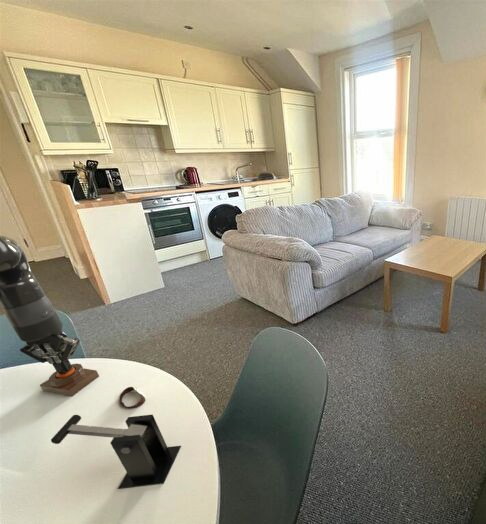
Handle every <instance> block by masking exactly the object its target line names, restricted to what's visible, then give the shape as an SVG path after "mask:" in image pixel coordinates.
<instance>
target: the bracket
mask: <svg viewBox="0 0 486 524" xmlns="http://www.w3.org/2000/svg"><path fill="white" fill-rule="evenodd" d="M131 424H136V425H147V436H146V437H145V439H144V441H143V440H142V438H141V436H140V435H132V436H123V437H114V438H112V439H111V441H110V445H111V447H112V449H113V450H114V452H115V454H116V456H117V458H118V460H119V461H120V463H121V464H122V466H123V469H124V470H125V472H126V474H125V475H124V477H123V479H122V480H121V482H120V484H119V485H118V487H117V489H118V490H122V489H131V488H140V487H148V486H155V485H157V486H158V485H164V484H165V482H166V480H167V478H168V476H169V474H170V471H171V469H172V467H173V465H174V463H175V461H176V458H177V457H178V454H179V453H180V450H181V448H182V445H174V446H168V445H167V443H166V441H165V439H164V437H163V434H162V432H161V429H160V428H159V425H158V423H157V421H156V418H155V417H154V414H144V415H136V416H135V415H134V416H128V417H127V418H126V420H125V425H126V426H127V429H128V428H129V426H130V425H131Z"/></svg>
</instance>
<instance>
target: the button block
mask: <svg viewBox="0 0 486 524" xmlns="http://www.w3.org/2000/svg"><path fill="white" fill-rule="evenodd" d="M71 365H72V367H74V368H75V371H74V372H73V373H72V374H70V375H68V376H66V377H64V378H60V379H58V378H57V377H56V374H57V373H58V372H57V371H56V370H55V371H54V372H53V373H52V374H51V375H50V376H49V377H48V379H47V380H45V381H44V382H42V383H41V384H39V387H40V389H41V390H42V392H45V393H50V394H56V395H61V396H67V397H74V396H75V395H77V394H78V393H80V392H81V391H82V390H83V389H84V388H86V387H87V386H88V385H90V384H91V383H92V382H94V381H95V380H97V379H98V378H100V374H99V372H98V370H96V369H90V368H84V367H83V365H82V364H81V363H71Z"/></svg>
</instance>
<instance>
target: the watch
mask: <svg viewBox="0 0 486 524" xmlns="http://www.w3.org/2000/svg"><path fill="white" fill-rule="evenodd" d="M131 392H136V393H138V394H139V395H140V396H141V399H140V400H139V401H138V402H137V403H136V404H134V405H130V406H126V405H125V403H124V402H123V398H124V396H126V395H127V394H128V393H131ZM145 396H146V394H144V392H142V391H141V390H140V389H139V388H137V387H136V386H135V387H134V386H128V387H126V388H125V389H123V390H122V392H121V393H120V395H119V398H118V400H119V404H120V406H122V407H123V408H126V409H130V410H133V409H137V408H140V407H141V406H143V405H144V404H145V402H146V397H145Z"/></svg>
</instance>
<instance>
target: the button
mask: <svg viewBox="0 0 486 524" xmlns="http://www.w3.org/2000/svg"><path fill="white" fill-rule="evenodd" d="M74 371H75V368H74V367H72V368H71V370H70V371H69V372H67V373H66V374H59V373H57V374H56V377H57V378H58V379H60V378H64V377H66V376H68V375H70V374H72V373H73V372H74Z"/></svg>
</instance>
